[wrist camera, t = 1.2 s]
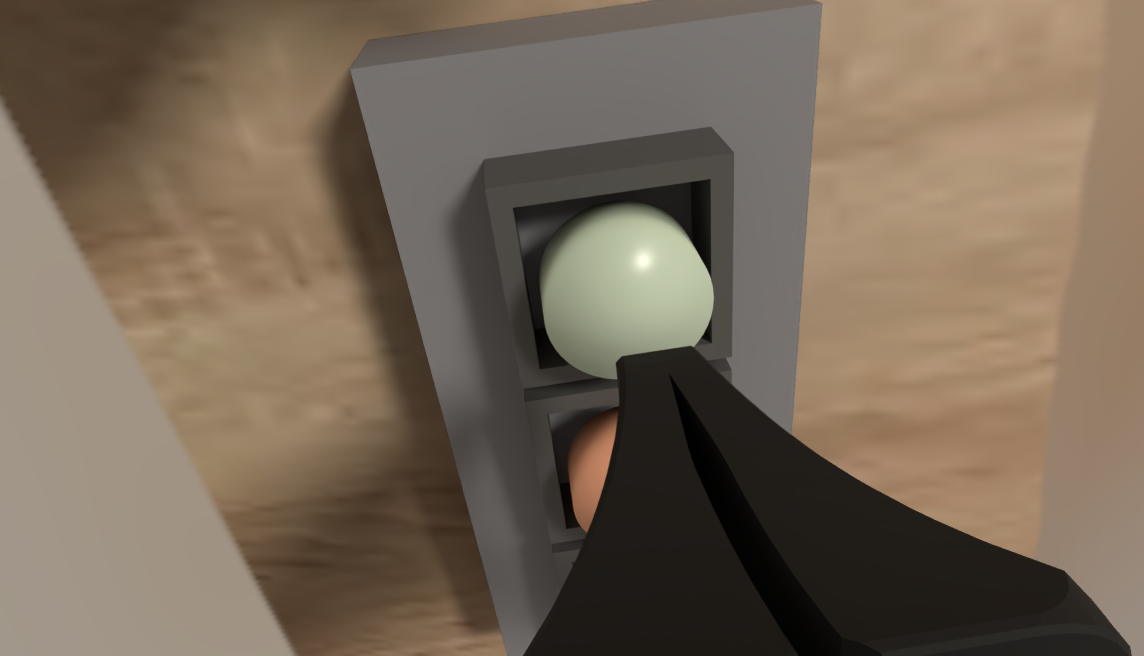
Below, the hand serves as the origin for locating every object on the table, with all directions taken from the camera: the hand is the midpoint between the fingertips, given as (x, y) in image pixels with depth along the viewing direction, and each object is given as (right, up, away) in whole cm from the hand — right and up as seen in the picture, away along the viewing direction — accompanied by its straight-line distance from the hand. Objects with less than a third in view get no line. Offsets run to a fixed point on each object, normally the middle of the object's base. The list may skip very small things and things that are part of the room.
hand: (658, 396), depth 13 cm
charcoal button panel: (0, 0, +11) cm, 11 cm away
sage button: (0, +2, +4) cm, 5 cm away
